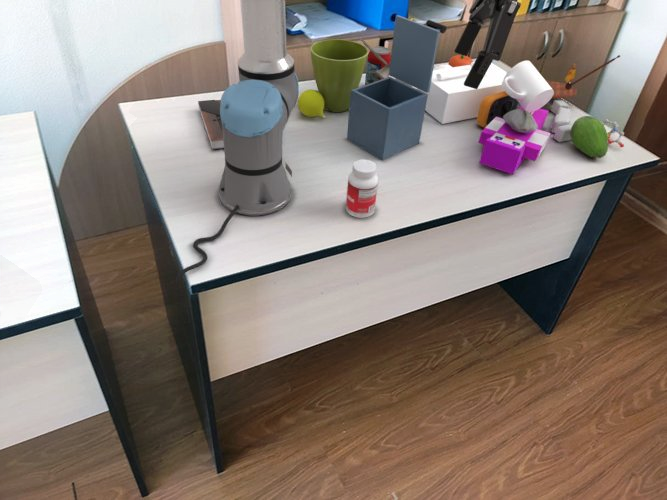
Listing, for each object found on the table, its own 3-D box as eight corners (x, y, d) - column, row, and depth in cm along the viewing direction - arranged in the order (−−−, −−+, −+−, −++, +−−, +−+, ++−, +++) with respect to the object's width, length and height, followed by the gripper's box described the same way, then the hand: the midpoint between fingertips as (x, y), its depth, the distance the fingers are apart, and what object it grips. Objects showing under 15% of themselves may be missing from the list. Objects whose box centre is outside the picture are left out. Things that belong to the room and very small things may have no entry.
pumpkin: (475, 78, 170) (480, 54, 165) (458, 83, 166) (464, 59, 161) (457, 70, 174) (462, 47, 170) (440, 74, 170) (445, 51, 166)
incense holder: (506, 79, 172) (511, 43, 166) (607, 87, 163) (617, 49, 157) (499, 94, 155) (506, 54, 149) (612, 104, 146) (623, 61, 140)
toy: (562, 114, 142) (533, 155, 121) (554, 135, 146) (525, 178, 125) (509, 99, 147) (473, 136, 126) (503, 119, 151) (467, 158, 130)
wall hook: (343, 47, 139) (353, 33, 138) (402, 97, 162) (410, 85, 161) (354, 54, 136) (364, 40, 135) (412, 104, 159) (420, 92, 158)
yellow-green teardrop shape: (317, 100, 148) (333, 124, 143) (293, 108, 146) (309, 133, 141) (317, 80, 141) (334, 105, 137) (293, 88, 140) (309, 113, 135)
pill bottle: (343, 201, 115) (347, 157, 108) (371, 201, 116) (377, 157, 108) (347, 219, 110) (351, 174, 103) (376, 218, 111) (382, 174, 104)
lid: (437, 31, 117) (461, 23, 122) (395, 15, 124) (419, 8, 129) (427, 92, 127) (449, 83, 131) (388, 75, 134) (411, 66, 138)
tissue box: (513, 110, 154) (524, 73, 146) (442, 123, 145) (450, 85, 137) (482, 89, 163) (491, 54, 156) (413, 101, 154) (420, 64, 147)
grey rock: (539, 141, 126) (549, 121, 123) (506, 131, 126) (514, 110, 123) (529, 129, 136) (538, 110, 134) (498, 119, 136) (506, 100, 134)
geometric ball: (429, 77, 165) (428, 96, 161) (432, 57, 158) (431, 76, 154) (454, 79, 164) (454, 98, 160) (458, 58, 157) (458, 77, 154)
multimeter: (480, 96, 140) (490, 101, 138) (523, 82, 148) (533, 86, 146) (473, 126, 145) (482, 131, 143) (515, 110, 154) (525, 115, 152)
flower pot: (313, 120, 142) (315, 60, 132) (304, 95, 153) (306, 39, 142) (367, 117, 145) (374, 59, 134) (355, 93, 156) (360, 38, 145)
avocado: (575, 111, 133) (599, 150, 129) (600, 107, 135) (624, 145, 131) (558, 131, 140) (580, 169, 136) (581, 127, 142) (604, 163, 138)
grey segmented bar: (553, 142, 141) (579, 146, 140) (558, 129, 138) (584, 133, 138) (544, 108, 156) (568, 112, 155) (549, 96, 153) (573, 100, 153)
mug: (529, 90, 129) (506, 60, 133) (509, 114, 135) (487, 85, 139) (559, 88, 135) (536, 60, 139) (539, 111, 141) (517, 83, 145)
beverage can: (360, 86, 160) (364, 46, 152) (380, 83, 162) (384, 44, 155) (370, 96, 156) (375, 55, 148) (390, 93, 158) (396, 52, 150)
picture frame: (198, 109, 143) (212, 150, 128) (197, 100, 141) (211, 140, 126) (259, 103, 147) (279, 142, 132) (259, 95, 146) (279, 133, 131)
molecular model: (593, 117, 139) (594, 143, 138) (626, 117, 138) (627, 143, 136) (584, 129, 146) (585, 154, 145) (615, 130, 145) (617, 155, 143)
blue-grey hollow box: (382, 160, 129) (389, 109, 120) (346, 139, 136) (350, 89, 127) (419, 143, 136) (428, 94, 127) (383, 124, 143) (389, 76, 134)
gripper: (559, -7, 84) (493, 107, 99) (524, -57, 101) (472, 46, 116) (517, -22, 83) (456, 96, 97) (489, -70, 100) (441, 36, 115)
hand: (465, 69), depth 107 cm, fingers open, 13 cm apart
